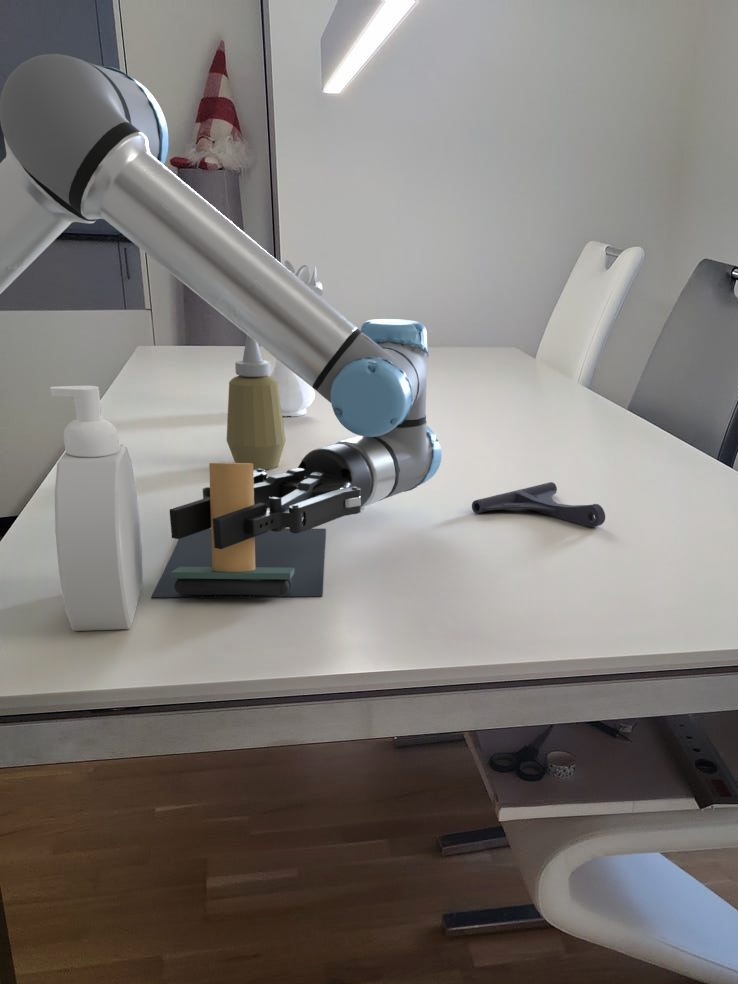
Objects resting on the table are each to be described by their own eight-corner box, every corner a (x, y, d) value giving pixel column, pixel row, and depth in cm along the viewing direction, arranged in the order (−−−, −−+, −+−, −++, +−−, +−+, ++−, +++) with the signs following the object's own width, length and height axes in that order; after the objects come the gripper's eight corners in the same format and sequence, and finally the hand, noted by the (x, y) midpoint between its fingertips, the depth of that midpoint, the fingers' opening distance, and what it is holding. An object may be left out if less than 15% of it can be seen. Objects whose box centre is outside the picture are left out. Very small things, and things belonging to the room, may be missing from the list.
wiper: (170, 595, 96) (166, 462, 93) (180, 589, 100) (175, 461, 98) (290, 596, 97) (288, 464, 95) (294, 589, 101) (293, 463, 99)
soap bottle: (89, 578, 102) (65, 372, 94) (145, 577, 103) (126, 372, 95) (62, 642, 87) (32, 405, 79) (128, 640, 88) (104, 405, 80)
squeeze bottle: (258, 456, 151) (253, 329, 144) (298, 466, 147) (294, 335, 140) (215, 466, 145) (207, 333, 138) (255, 476, 140) (249, 339, 133)
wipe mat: (151, 598, 98) (151, 597, 97) (183, 529, 118) (183, 528, 118) (322, 596, 100) (322, 595, 100) (325, 529, 120) (325, 528, 120)
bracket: (562, 540, 119) (564, 517, 118) (471, 511, 129) (472, 490, 127) (636, 519, 129) (639, 497, 128) (547, 494, 138) (548, 473, 137)
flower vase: (253, 425, 171) (246, 265, 161) (252, 404, 188) (245, 258, 178) (332, 424, 174) (330, 267, 164) (324, 404, 190) (321, 260, 180)
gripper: (413, 524, 110) (273, 587, 91) (282, 498, 117) (127, 551, 98) (413, 454, 107) (270, 504, 88) (279, 432, 114) (120, 474, 95)
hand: (195, 529), depth 93 cm, fingers closed on wiper, 4 cm apart
